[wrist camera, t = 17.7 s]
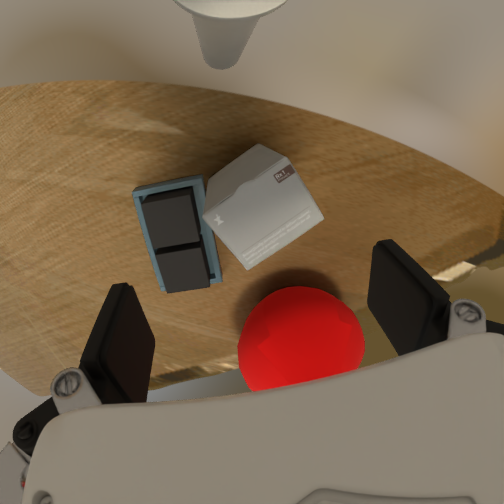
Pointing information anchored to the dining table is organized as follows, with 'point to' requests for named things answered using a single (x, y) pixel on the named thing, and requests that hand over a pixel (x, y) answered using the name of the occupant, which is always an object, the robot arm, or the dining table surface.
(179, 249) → the seated pad
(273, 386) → the vase
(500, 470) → the robot arm
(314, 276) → the dining table surface
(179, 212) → the loose pad
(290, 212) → the cosmetic box
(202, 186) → the tray
